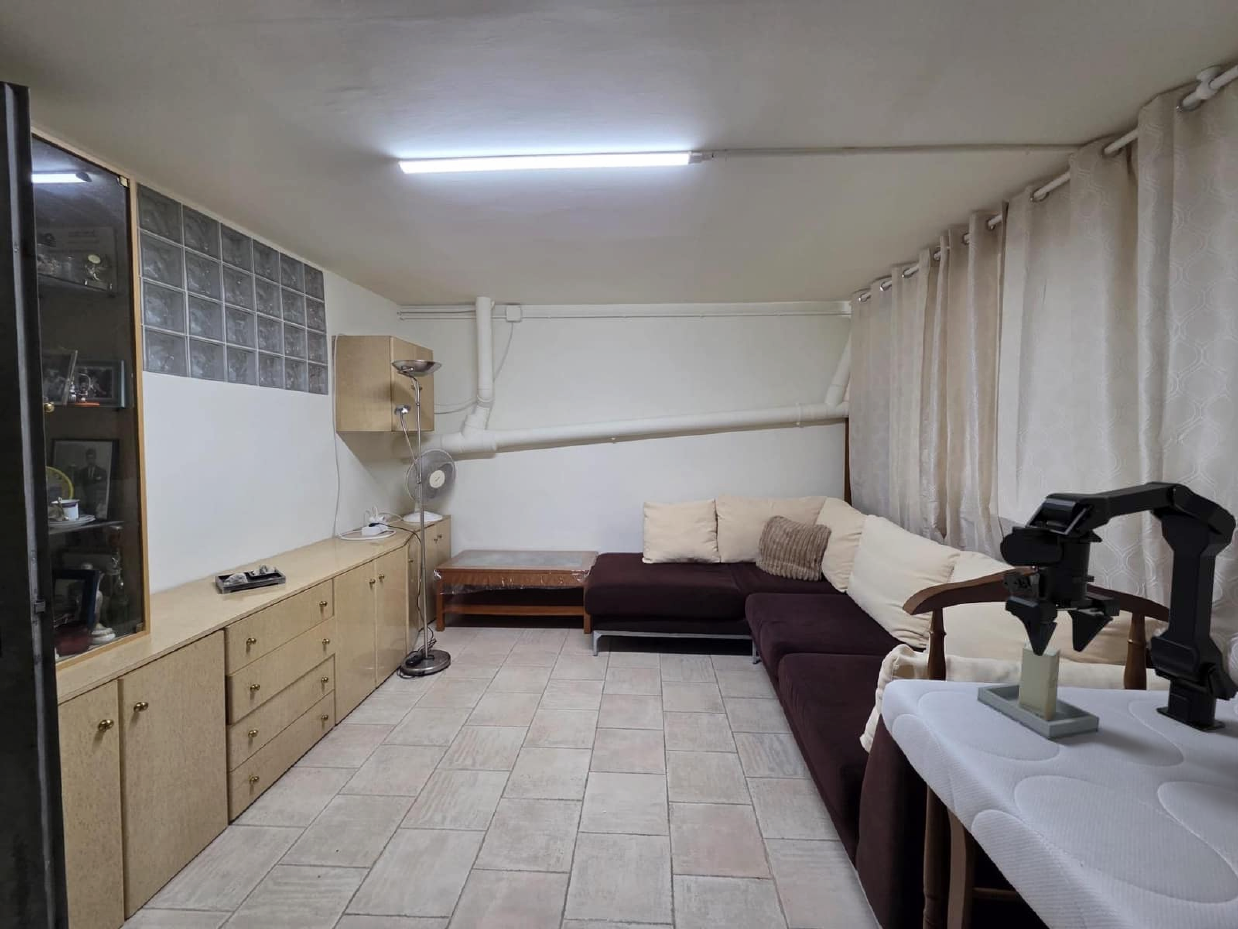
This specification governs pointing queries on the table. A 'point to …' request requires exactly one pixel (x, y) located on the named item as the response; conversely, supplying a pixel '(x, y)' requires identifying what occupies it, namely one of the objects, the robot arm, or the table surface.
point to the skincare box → (1039, 681)
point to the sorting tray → (1059, 725)
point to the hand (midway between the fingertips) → (1057, 653)
